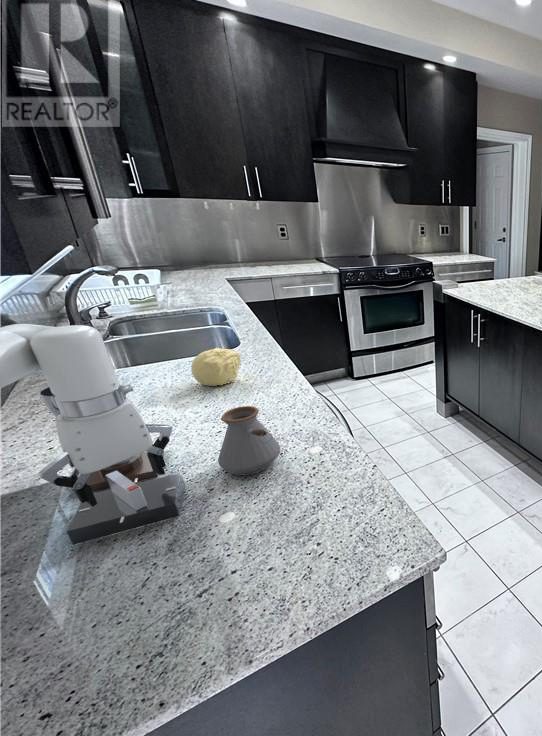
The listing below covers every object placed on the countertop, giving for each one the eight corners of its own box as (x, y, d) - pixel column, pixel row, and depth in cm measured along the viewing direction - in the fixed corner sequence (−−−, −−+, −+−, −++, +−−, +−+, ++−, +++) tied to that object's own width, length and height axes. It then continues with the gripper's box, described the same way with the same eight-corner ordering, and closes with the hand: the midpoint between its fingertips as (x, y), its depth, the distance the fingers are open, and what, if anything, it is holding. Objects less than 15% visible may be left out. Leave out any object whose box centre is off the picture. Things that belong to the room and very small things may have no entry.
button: (105, 468, 80) (102, 461, 80) (109, 459, 83) (106, 451, 83) (129, 463, 82) (126, 456, 82) (132, 454, 85) (130, 447, 84)
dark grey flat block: (69, 552, 66) (62, 537, 64) (92, 502, 76) (87, 489, 75) (178, 521, 73) (173, 508, 72) (186, 480, 83) (182, 467, 82)
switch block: (77, 495, 77) (70, 480, 76) (90, 470, 84) (84, 456, 83) (157, 477, 83) (152, 463, 82) (164, 454, 90) (159, 441, 89)
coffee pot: (214, 463, 88) (197, 402, 83) (271, 443, 96) (259, 387, 91) (246, 513, 75) (228, 445, 70) (309, 485, 83) (298, 422, 78)
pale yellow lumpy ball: (226, 390, 120) (218, 357, 116) (186, 388, 120) (177, 354, 116) (250, 375, 131) (243, 344, 127) (213, 373, 131) (205, 342, 127)
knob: (112, 492, 74) (104, 473, 73) (123, 487, 76) (116, 469, 74) (136, 510, 71) (128, 491, 69) (147, 505, 72) (140, 486, 70)
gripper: (145, 378, 74) (172, 456, 81) (4, 418, 60) (50, 508, 67) (166, 387, 71) (192, 468, 78) (22, 432, 57) (69, 525, 64)
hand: (127, 486), depth 72 cm, fingers open, 9 cm apart
